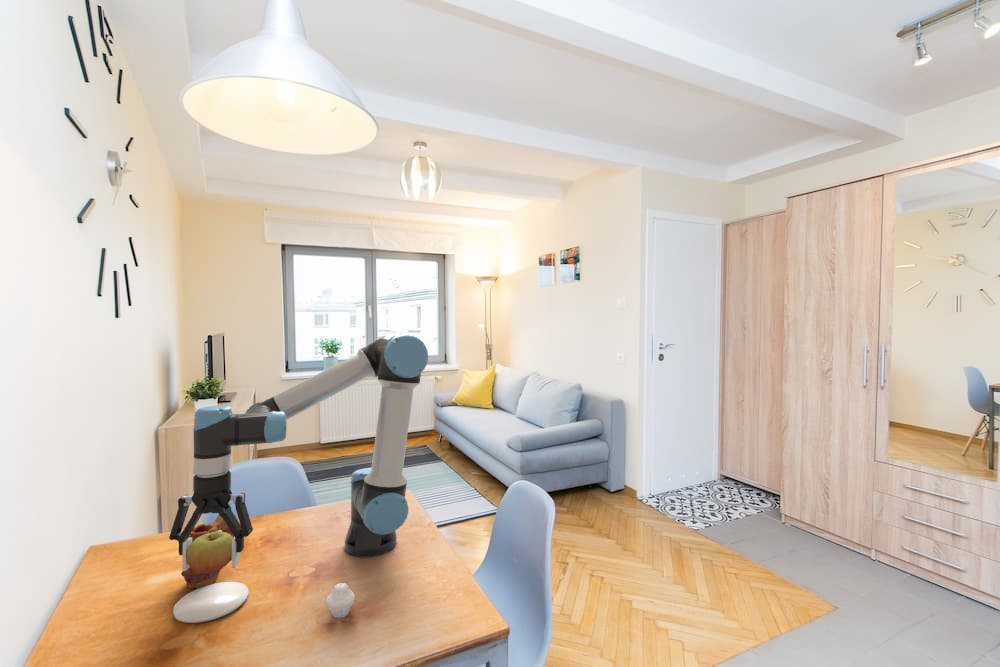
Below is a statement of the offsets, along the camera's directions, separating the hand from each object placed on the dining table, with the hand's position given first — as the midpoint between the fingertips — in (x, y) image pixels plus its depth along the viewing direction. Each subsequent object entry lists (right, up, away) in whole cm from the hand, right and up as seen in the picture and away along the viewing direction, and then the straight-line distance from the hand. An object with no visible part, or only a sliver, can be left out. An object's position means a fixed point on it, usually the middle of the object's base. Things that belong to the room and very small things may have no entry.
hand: (211, 566), depth 108 cm
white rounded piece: (+31, -10, -3) cm, 33 cm away
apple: (0, 0, 0) cm, 1 cm away
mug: (-8, -9, +12) cm, 17 cm away
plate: (0, -9, 0) cm, 9 cm away
